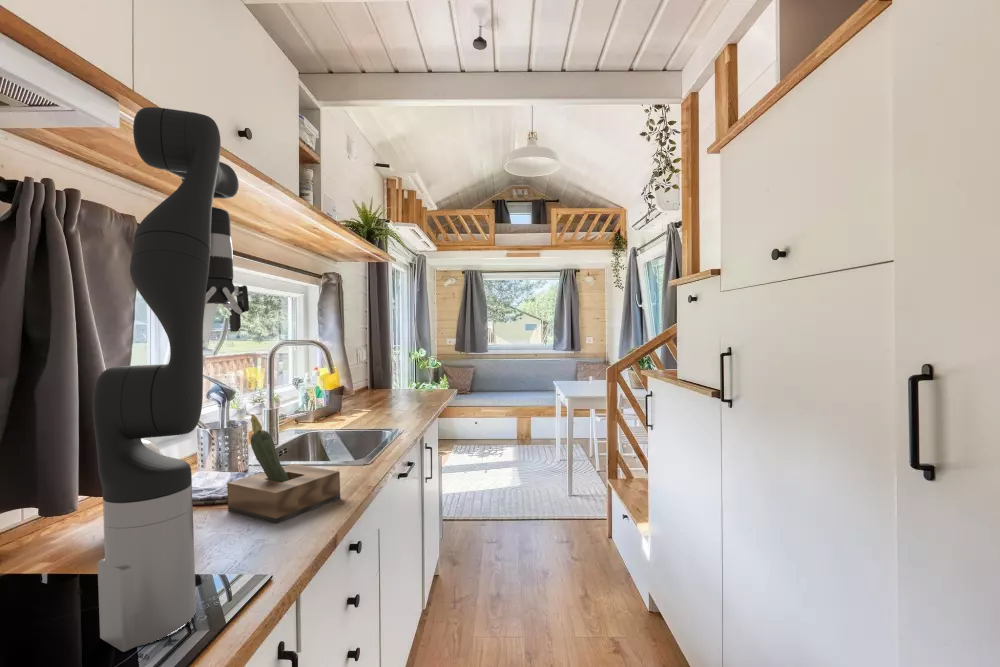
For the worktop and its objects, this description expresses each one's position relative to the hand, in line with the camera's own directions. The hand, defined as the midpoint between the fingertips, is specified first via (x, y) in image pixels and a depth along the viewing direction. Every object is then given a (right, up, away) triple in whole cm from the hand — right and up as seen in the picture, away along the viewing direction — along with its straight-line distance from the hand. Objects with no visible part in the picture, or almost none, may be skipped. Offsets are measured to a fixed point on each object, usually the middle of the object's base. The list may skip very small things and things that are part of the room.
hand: (215, 331), depth 106 cm
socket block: (+15, -38, 0) cm, 41 cm away
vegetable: (+15, -37, 0) cm, 40 cm away
